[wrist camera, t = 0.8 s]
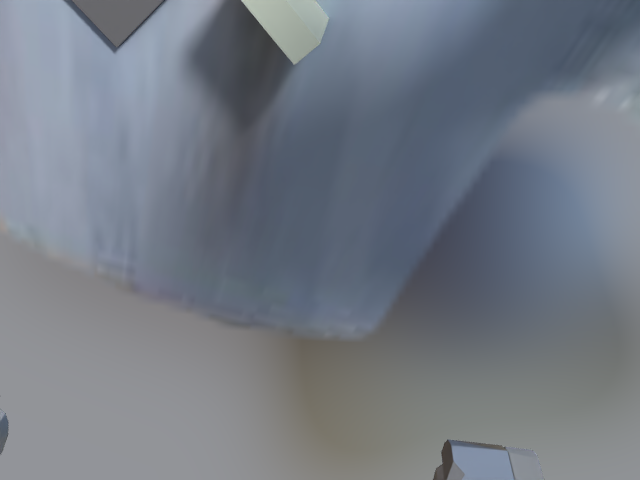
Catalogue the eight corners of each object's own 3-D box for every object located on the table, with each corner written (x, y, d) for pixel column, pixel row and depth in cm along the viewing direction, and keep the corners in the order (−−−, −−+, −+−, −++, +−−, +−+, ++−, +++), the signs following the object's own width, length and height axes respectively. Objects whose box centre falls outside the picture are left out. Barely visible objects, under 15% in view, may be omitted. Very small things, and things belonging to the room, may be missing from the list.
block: (270, -59, 36) (249, -47, 30) (329, 18, 39) (320, 43, 33) (248, -37, 37) (223, -21, 31) (306, 37, 39) (294, 65, 33)
